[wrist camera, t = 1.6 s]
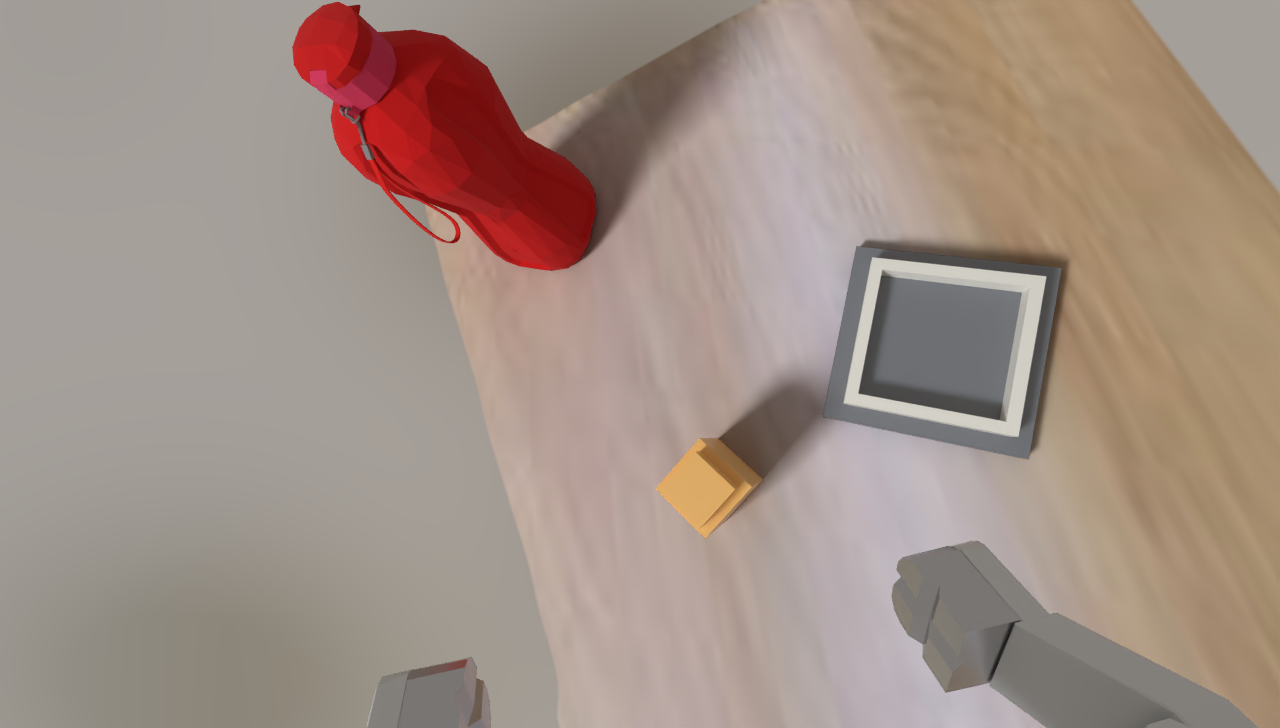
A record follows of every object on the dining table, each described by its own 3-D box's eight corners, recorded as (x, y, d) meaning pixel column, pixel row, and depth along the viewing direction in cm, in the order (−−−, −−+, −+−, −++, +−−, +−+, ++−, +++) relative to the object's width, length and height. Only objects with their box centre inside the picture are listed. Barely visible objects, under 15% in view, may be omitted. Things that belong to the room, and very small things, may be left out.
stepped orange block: (762, 479, 42) (748, 489, 34) (723, 523, 42) (700, 542, 34) (718, 438, 43) (694, 438, 35) (680, 481, 44) (648, 490, 36)
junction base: (1055, 272, 37) (1071, 260, 35) (1023, 458, 37) (1037, 459, 34) (855, 250, 42) (857, 239, 39) (822, 416, 41) (822, 415, 39)
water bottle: (495, 284, 52) (223, 154, 28) (521, 174, 52) (277, -43, 29) (581, 298, 49) (357, 165, 25) (608, 181, 49) (414, -56, 26)
